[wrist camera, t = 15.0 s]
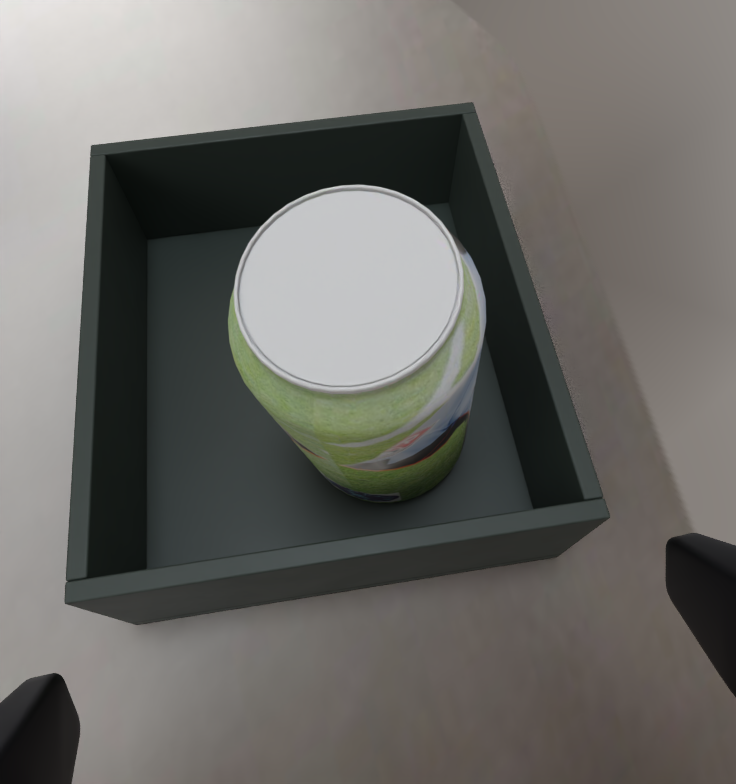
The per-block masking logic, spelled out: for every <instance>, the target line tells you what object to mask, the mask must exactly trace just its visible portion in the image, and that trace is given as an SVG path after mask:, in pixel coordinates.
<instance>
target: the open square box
mask: <svg viewBox="0 0 736 784" xmlns="http://www.w3.org/2000/svg"><path fill="white" fill-rule="evenodd" d="M90 156H91V157H90V172H89V189H88V206H87V223H86V241H85V258H84V275H83V292H82V310H81V327H80V344H79V361H78V379H77V396H76V413H75V430H74V448H73V465H72V482H71V499H70V517H69V534H68V551H67V568H66V581H68V582H66V585H65V604H68V605H71V606H74V607H78V608H81V609H85V610H88V611H91V612H95V613H98V614H101V615H105V616H108V617H111V618H115V619H118V620H122V621H125V622H128V623H132V624H135V625H139V624H145V623H151V622H157V621H164V620H170V619H176V618H182V617H188V616H195V615H201V614H207V613H213V612H219V611H226V610H232V609H238V608H244V607H250V606H256V605H263V604H269V603H275V602H281V601H287V600H294V599H300V598H306V597H312V596H318V595H325V594H331V593H337V592H343V591H349V590H356V589H362V588H368V587H374V586H380V585H387V584H393V583H399V582H405V581H411V580H418V579H424V578H430V577H436V576H442V575H448V574H455V573H461V572H467V571H473V570H479V569H486V568H492V567H498V566H504V565H510V564H517V563H523V562H529V561H535V560H541V559H548V558H554V557H557V556H559V555H560V554H561V553H563V552H564V551H566V550H567V549H568V548H570V547H571V546H572V545H574V544H575V543H576V542H578V541H579V540H580V539H582V538H583V537H584V536H586V535H587V534H588V533H590V532H591V531H592V530H594V529H595V528H597V527H598V526H599V525H601V524H602V523H603V522H605V521H606V520H607V519H609V518H610V514H609V511H608V508H607V505H606V502H605V500H604V499H603V493H602V490H601V487H600V484H599V481H598V478H597V475H596V472H595V469H594V466H593V463H592V460H591V457H590V454H589V451H588V448H587V445H586V442H585V439H584V436H583V433H582V430H581V427H580V424H579V421H578V418H577V415H576V412H575V409H574V406H573V403H572V400H571V397H570V394H569V391H568V388H567V385H566V382H565V379H564V376H563V373H562V370H561V367H560V364H559V361H558V358H557V355H556V351H555V348H554V345H553V342H552V339H551V336H550V333H549V330H548V327H547V324H546V321H545V318H544V315H543V312H542V309H541V306H540V303H539V300H538V297H537V294H536V291H535V288H534V285H533V282H532V279H531V276H530V273H529V270H528V267H527V264H526V261H525V258H524V255H523V252H522V249H521V246H520V243H519V240H518V237H517V234H516V231H515V228H514V225H513V222H512V219H511V216H510V213H509V210H508V207H507V204H506V201H505V198H504V195H503V192H502V189H501V186H500V183H499V180H498V177H497V174H496V171H495V167H494V164H493V161H492V158H491V155H490V152H489V149H488V146H487V143H486V140H485V137H484V134H483V131H482V128H481V125H480V122H479V119H478V116H477V113H476V110H475V107H474V104H473V103H472V102H471V103H462V104H453V105H444V106H435V107H427V108H418V109H409V110H400V111H391V112H382V113H373V114H365V115H356V116H347V117H338V118H329V119H320V120H311V121H302V122H294V123H285V124H276V125H267V126H258V127H249V128H240V129H232V130H223V131H214V132H205V133H196V134H187V135H178V136H169V137H161V138H152V139H143V140H134V141H125V142H116V143H107V144H99V145H92V146H91V154H90ZM341 185H368V186H377V187H382V188H386V189H389V190H393V191H397V192H399V193H401V194H403V195H406V196H408V197H410V198H412V199H414V200H416V201H417V202H419V203H420V204H422V205H423V206H425V207H426V208H428V209H429V210H430V211H431V212H432V213H433V214H434V215H435V216H436V217H437V218H438V219H439V220H440V221H441V222H442V223H443V224H444V226H445V227H446V228H447V229H448V230H449V231H450V232H451V233H452V234H453V235H454V236H455V237H456V238H457V239H458V240H459V241H460V242H461V244H462V245H463V247H464V248H465V249H466V251H467V252H468V254H469V255H470V257H471V258H472V260H473V262H474V265H475V267H476V269H477V271H478V273H479V276H480V278H481V282H482V286H483V291H484V295H485V299H486V327H485V333H484V339H483V345H482V350H481V356H480V361H479V367H478V372H477V377H476V383H475V388H474V394H473V399H472V405H471V410H470V416H469V421H468V426H467V432H466V437H465V443H464V445H463V448H462V451H461V454H460V456H459V458H458V460H457V461H456V463H455V465H454V467H453V468H452V469H451V471H450V472H449V473H448V474H447V475H446V477H445V478H444V479H443V480H442V481H440V482H439V483H438V484H437V485H436V486H434V487H433V488H432V489H430V490H428V491H427V492H425V493H423V494H421V495H419V496H417V497H414V498H411V499H408V500H405V501H400V502H393V503H374V502H369V501H364V500H360V499H358V498H355V497H352V496H350V495H347V494H346V493H344V492H343V491H341V490H339V489H338V488H336V487H335V486H334V485H333V484H331V483H330V482H329V481H328V480H327V479H326V478H325V477H324V476H323V475H322V474H321V473H320V471H319V470H318V469H317V468H316V467H315V466H314V464H313V463H312V462H311V461H310V460H309V459H308V458H307V456H306V455H305V454H304V453H303V452H302V451H301V449H300V448H299V447H298V446H297V445H296V444H295V443H294V441H293V440H292V439H291V438H290V437H289V436H288V434H287V433H286V432H285V431H284V430H283V429H282V428H281V426H280V425H279V424H278V423H277V422H276V421H275V420H274V418H273V417H272V416H271V415H270V414H269V413H268V411H267V410H266V409H265V408H264V407H263V406H262V405H261V403H260V402H259V401H258V400H257V399H256V397H255V396H254V395H253V393H252V392H251V391H250V389H249V388H248V387H247V386H246V384H245V383H244V381H243V379H242V377H241V375H240V372H239V370H238V368H237V366H236V364H235V361H234V358H233V354H232V350H231V347H230V343H229V330H228V316H229V307H230V299H231V296H232V292H233V289H234V285H235V276H236V273H237V269H238V266H239V263H240V259H241V257H242V255H243V253H244V251H245V249H246V247H247V245H248V243H249V242H250V240H251V239H252V238H253V236H254V235H255V234H256V232H257V231H258V230H259V228H260V227H261V226H262V225H263V224H264V223H265V222H266V221H267V220H268V219H269V218H270V217H271V216H272V215H273V214H275V213H276V212H278V211H279V210H280V209H282V208H283V207H285V206H286V205H287V204H289V203H291V202H293V201H295V200H297V199H299V198H300V197H302V196H304V195H307V194H310V193H313V192H316V191H319V190H321V189H326V188H331V187H336V186H341Z"/></svg>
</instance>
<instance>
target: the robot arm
mask: <svg viewBox="0 0 736 784" xmlns="http://www.w3.org/2000/svg"><path fill="white" fill-rule="evenodd" d="M666 588H667V592H668V595H669V597H670V599H671V601H672V602H673V604H674V606H675V607H676V609H677V610H678V612H679V613H680V615H681V616H682V618H683V619H684V621H685V622H686V624H687V625H688V627H689V629H690V630H691V632H692V633H693V635H694V636H695V638H696V639H697V641H698V642H699V644H700V645H701V647H702V649H703V650H704V652H705V653H706V655H707V656H708V658H709V659H710V661H711V662H712V664H713V665H714V667H715V669H716V670H717V672H718V673H719V675H720V676H721V678H722V679H723V680H724V682H725V683H726V685H727V686H728V688H729V689H730V690H731V692H732V693H733V694H734V696H735V697H736V546H735V545H732V544H729V543H726V542H723V541H719V540H716V539H713V538H710V537H707V536H704V535H701V534H697V533H690V534H686V535H681V536H677V537H672V538H671V539H669V540H668V542H667V544H666ZM79 737H80V721H79V717H78V714H77V711H76V709H75V706H74V704H73V701H72V698H71V696H70V693H69V691H68V688H67V686H66V683H65V681H64V679H63V677H62V676H61V675H59V674H56V673H52V674H48V675H43V676H39V677H34V678H30V679H28V680H26V681H25V682H23V683H22V684H21V685H20V686H19V687H18V688H17V689H16V690H14V691H13V692H12V693H11V694H10V695H9V696H8V697H7V698H5V699H4V700H3V701H2V702H1V703H0V784H71V783H72V777H73V772H74V766H75V760H76V754H77V749H78V743H79Z"/></svg>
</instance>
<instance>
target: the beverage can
mask: <svg viewBox="0 0 736 784" xmlns="http://www.w3.org/2000/svg"><path fill="white" fill-rule="evenodd" d="M485 327H486V299H485V295H484V291H483V286H482V282H481V278H480V276H479V273H478V271H477V269H476V267H475V265H474V262H473V260H472V258H471V257H470V255H469V254H468V252H467V251H466V249H465V248H464V247H463V245H462V244H461V242H460V241H459V240H458V239H457V238H456V237H455V236H454V235H453V234H452V233H451V232H450V231H449V230H448V229H447V228H446V227H445V226H444V224H443V223H442V222H441V221H440V220H439V219H438V218H437V217H436V216H435V215H434V214H433V213H432V212H431V211H430V210H429V209H428V208H426V207H425V206H423V205H422V204H420V203H419V202H417V201H416V200H414V199H412V198H410V197H408V196H406V195H403V194H401V193H399V192H397V191H393V190H389V189H386V188H382V187H377V186H368V185H341V186H336V187H331V188H326V189H321V190H319V191H316V192H313V193H310V194H307V195H304V196H302V197H300V198H299V199H297V200H295V201H293V202H291V203H289V204H287V205H286V206H285V207H283V208H282V209H280V210H279V211H278V212H276V213H275V214H273V215H272V216H271V217H270V218H269V219H268V220H267V221H266V222H265V223H264V224H263V225H262V226H261V227H260V228H259V230H258V231H257V232H256V234H255V235H254V236H253V238H252V239H251V240H250V242H249V243H248V245H247V247H246V249H245V251H244V253H243V255H242V257H241V259H240V263H239V266H238V269H237V273H236V276H235V285H234V289H233V292H232V296H231V299H230V307H229V316H228V330H229V343H230V347H231V350H232V354H233V358H234V361H235V364H236V366H237V368H238V370H239V372H240V375H241V377H242V379H243V381H244V383H245V384H246V386H247V387H248V388H249V389H250V391H251V392H252V393H253V395H254V396H255V397H256V399H257V400H258V401H259V402H260V403H261V405H262V406H263V407H264V408H265V409H266V410H267V411H268V413H269V414H270V415H271V416H272V417H273V418H274V420H275V421H276V422H277V423H278V424H279V425H280V426H281V428H282V429H283V430H284V431H285V432H286V433H287V434H288V436H289V437H290V438H291V439H292V440H293V441H294V443H295V444H296V445H297V446H298V447H299V448H300V449H301V451H302V452H303V453H304V454H305V455H306V456H307V458H308V459H309V460H310V461H311V462H312V463H313V464H314V466H315V467H316V468H317V469H318V470H319V471H320V473H321V474H322V475H323V476H324V477H325V478H326V479H327V480H328V481H329V482H330V483H331V484H333V485H334V486H335V487H336V488H338V489H339V490H341V491H343V492H344V493H346V494H347V495H350V496H352V497H355V498H358V499H360V500H364V501H369V502H374V503H393V502H400V501H405V500H408V499H411V498H414V497H417V496H419V495H421V494H423V493H425V492H427V491H428V490H430V489H432V488H433V487H434V486H436V485H437V484H438V483H439V482H440V481H442V480H443V479H444V478H445V477H446V475H447V474H448V473H449V472H450V471H451V469H452V468H453V467H454V465H455V463H456V461H457V460H458V458H459V456H460V454H461V451H462V448H463V445H464V443H465V437H466V432H467V426H468V421H469V416H470V410H471V405H472V399H473V394H474V388H475V383H476V377H477V372H478V367H479V361H480V356H481V350H482V345H483V339H484V333H485Z"/></svg>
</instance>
